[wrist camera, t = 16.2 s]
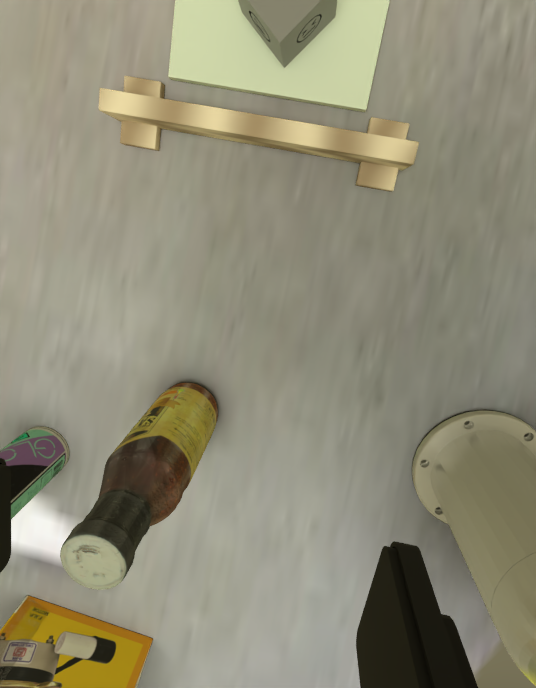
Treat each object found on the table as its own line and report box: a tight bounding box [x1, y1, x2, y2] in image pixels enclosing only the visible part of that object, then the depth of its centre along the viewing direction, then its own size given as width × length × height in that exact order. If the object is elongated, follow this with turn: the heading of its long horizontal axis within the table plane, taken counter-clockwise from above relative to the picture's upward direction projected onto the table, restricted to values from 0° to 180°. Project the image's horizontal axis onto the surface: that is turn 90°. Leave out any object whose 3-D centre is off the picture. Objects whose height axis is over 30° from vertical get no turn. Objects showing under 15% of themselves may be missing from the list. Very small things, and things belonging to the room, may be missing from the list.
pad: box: [168, 0, 390, 112], centre depth 33 cm, size 16×11×1 cm
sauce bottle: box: [60, 383, 218, 590], centre depth 34 cm, size 7×6×20 cm
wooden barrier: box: [99, 76, 419, 191], centre depth 34 cm, size 24×5×4 cm, turn 80°
